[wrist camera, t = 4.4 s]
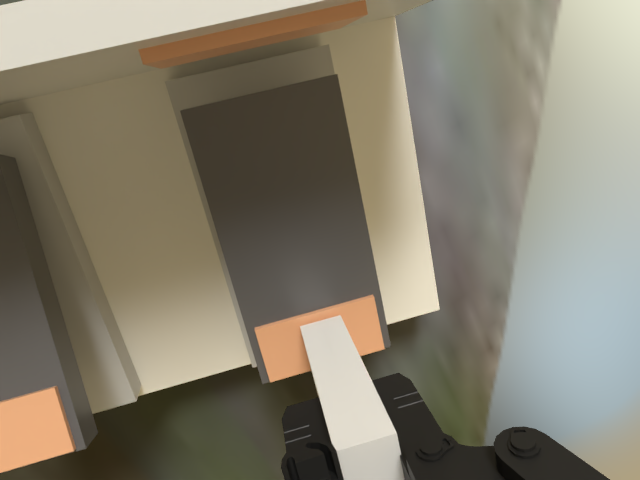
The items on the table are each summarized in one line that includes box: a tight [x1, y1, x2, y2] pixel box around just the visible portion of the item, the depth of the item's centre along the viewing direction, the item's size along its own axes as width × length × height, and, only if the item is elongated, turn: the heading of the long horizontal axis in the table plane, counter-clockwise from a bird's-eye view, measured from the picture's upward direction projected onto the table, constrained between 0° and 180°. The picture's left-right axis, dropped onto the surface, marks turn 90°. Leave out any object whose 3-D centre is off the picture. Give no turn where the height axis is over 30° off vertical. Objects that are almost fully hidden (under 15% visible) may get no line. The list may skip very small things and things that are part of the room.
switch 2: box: [180, 74, 391, 384], centre depth 17 cm, size 5×10×1 cm, turn 13°
